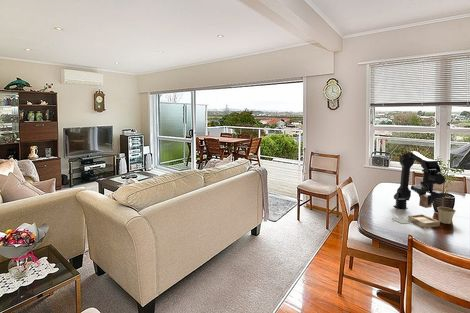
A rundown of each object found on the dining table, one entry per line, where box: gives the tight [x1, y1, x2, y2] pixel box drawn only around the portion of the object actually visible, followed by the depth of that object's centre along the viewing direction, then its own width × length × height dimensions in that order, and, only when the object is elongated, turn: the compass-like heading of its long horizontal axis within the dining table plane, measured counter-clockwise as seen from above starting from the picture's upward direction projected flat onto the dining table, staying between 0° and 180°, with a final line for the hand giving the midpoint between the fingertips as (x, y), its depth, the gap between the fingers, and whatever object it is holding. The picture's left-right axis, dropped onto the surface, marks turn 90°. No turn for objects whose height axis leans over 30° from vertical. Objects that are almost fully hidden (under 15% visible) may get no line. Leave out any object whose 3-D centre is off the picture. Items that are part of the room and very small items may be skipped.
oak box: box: [407, 213, 441, 229], centre depth 168 cm, size 12×11×3 cm
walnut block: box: [418, 193, 433, 209], centre depth 165 cm, size 4×4×7 cm
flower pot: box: [436, 206, 457, 225], centre depth 168 cm, size 9×9×9 cm
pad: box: [392, 217, 414, 225], centre depth 172 cm, size 8×8×1 cm
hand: (425, 204), depth 166 cm, fingers closed on walnut block, 4 cm apart
